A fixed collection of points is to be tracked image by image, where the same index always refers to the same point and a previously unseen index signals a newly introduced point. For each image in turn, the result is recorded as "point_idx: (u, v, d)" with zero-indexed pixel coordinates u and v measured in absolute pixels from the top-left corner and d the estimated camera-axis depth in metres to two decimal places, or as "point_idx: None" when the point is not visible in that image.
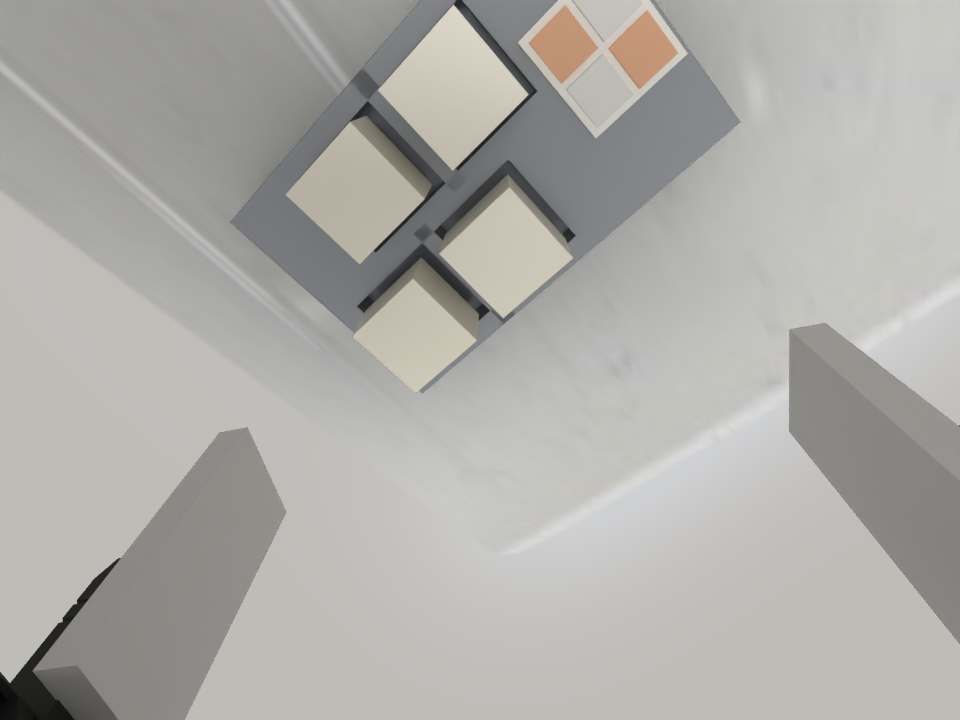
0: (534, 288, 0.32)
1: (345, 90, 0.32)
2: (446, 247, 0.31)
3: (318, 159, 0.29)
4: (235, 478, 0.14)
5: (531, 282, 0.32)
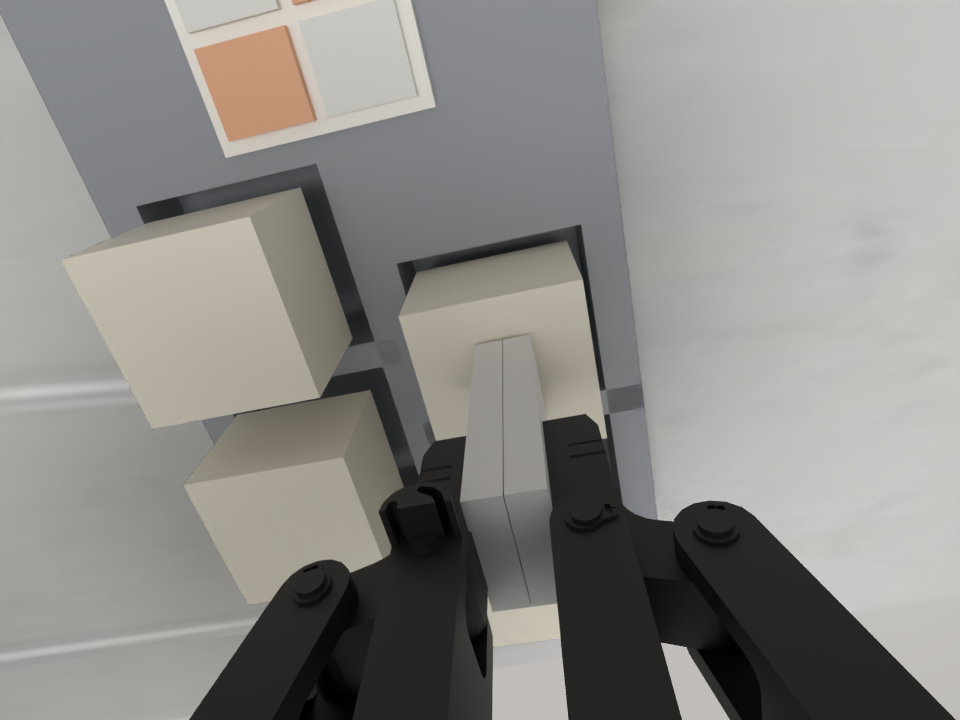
0: (591, 367, 0.16)
1: None
2: None
3: (218, 546, 0.18)
4: None
5: (578, 366, 0.16)
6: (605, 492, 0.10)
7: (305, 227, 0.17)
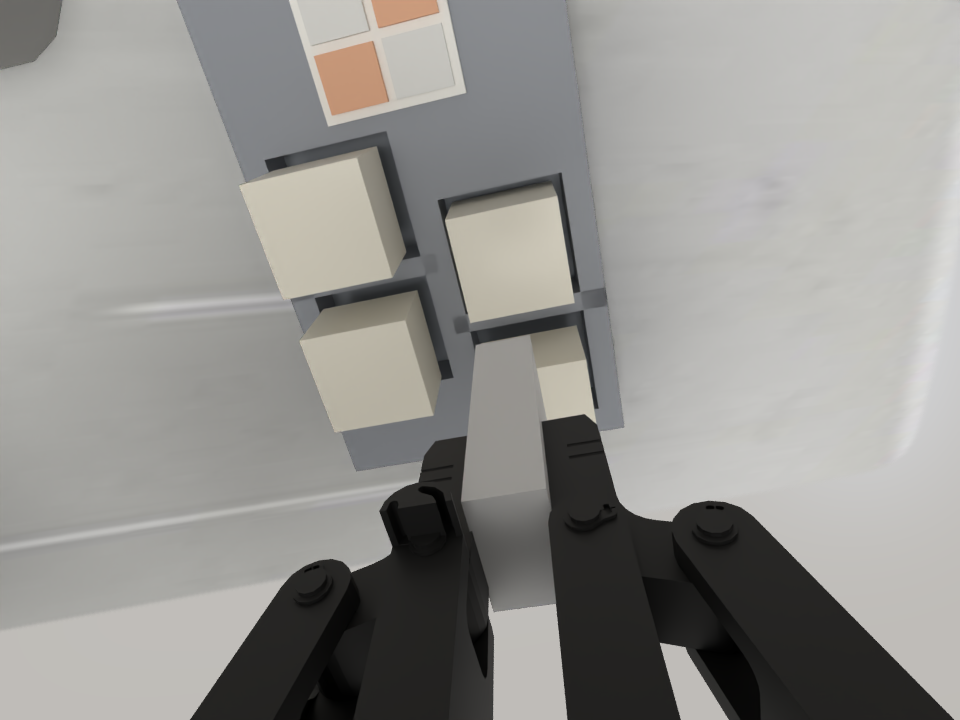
0: (563, 254, 0.26)
1: (296, 310, 0.31)
2: (468, 312, 0.28)
3: (318, 387, 0.28)
4: None
5: (555, 253, 0.26)
6: (605, 492, 0.10)
7: (380, 172, 0.26)
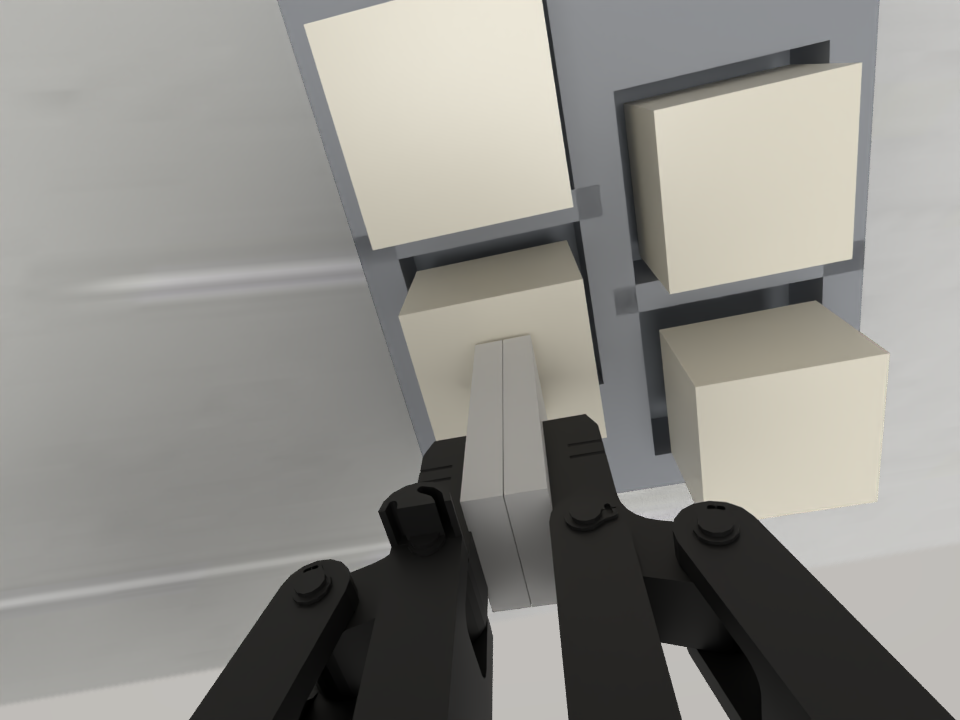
0: (851, 172, 0.15)
1: (369, 280, 0.20)
2: (669, 276, 0.17)
3: (423, 393, 0.17)
4: None
5: (837, 171, 0.15)
6: (605, 493, 0.10)
7: None
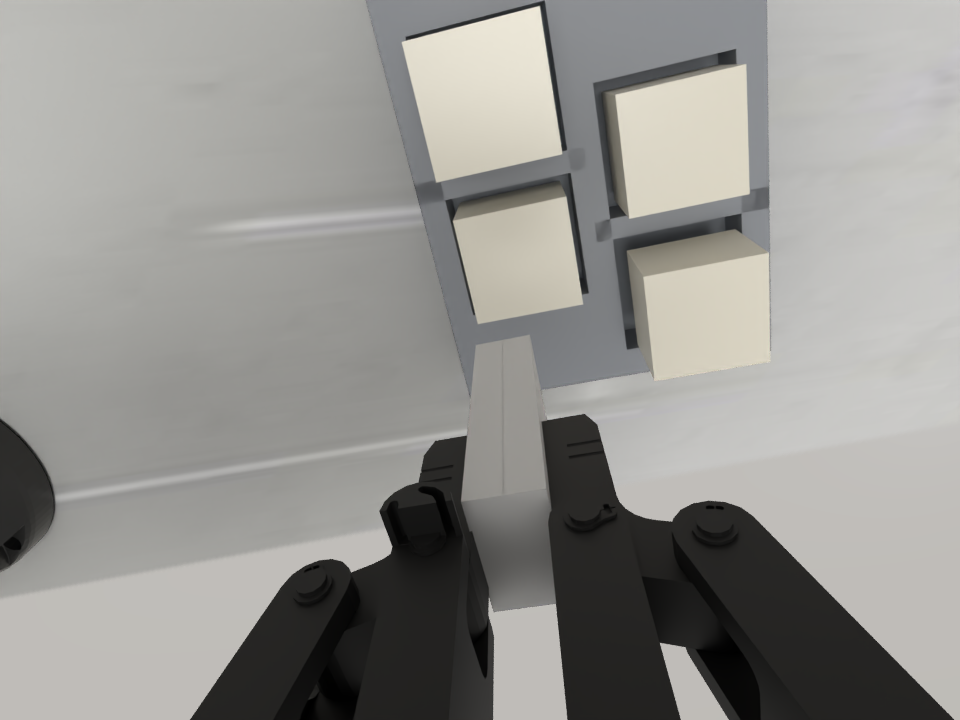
0: (744, 135, 0.24)
1: (424, 215, 0.28)
2: (628, 206, 0.25)
3: (466, 273, 0.27)
4: None
5: (735, 134, 0.24)
6: (604, 493, 0.10)
7: None
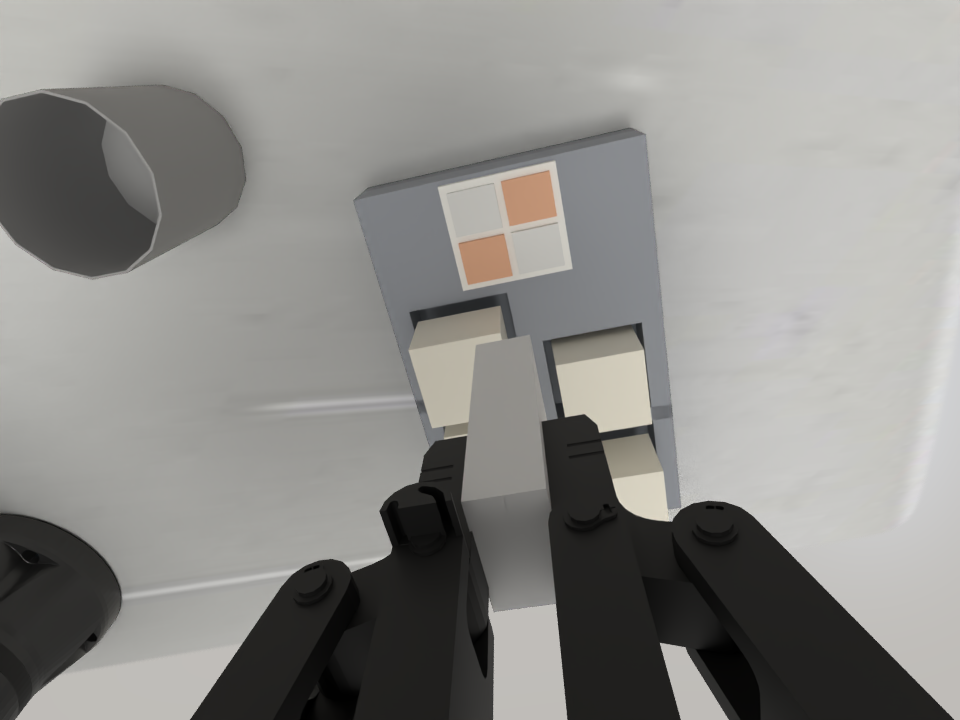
0: (646, 389, 0.34)
1: (422, 420, 0.39)
2: None
3: None
4: None
5: (639, 389, 0.34)
6: (604, 493, 0.10)
7: (504, 326, 0.34)
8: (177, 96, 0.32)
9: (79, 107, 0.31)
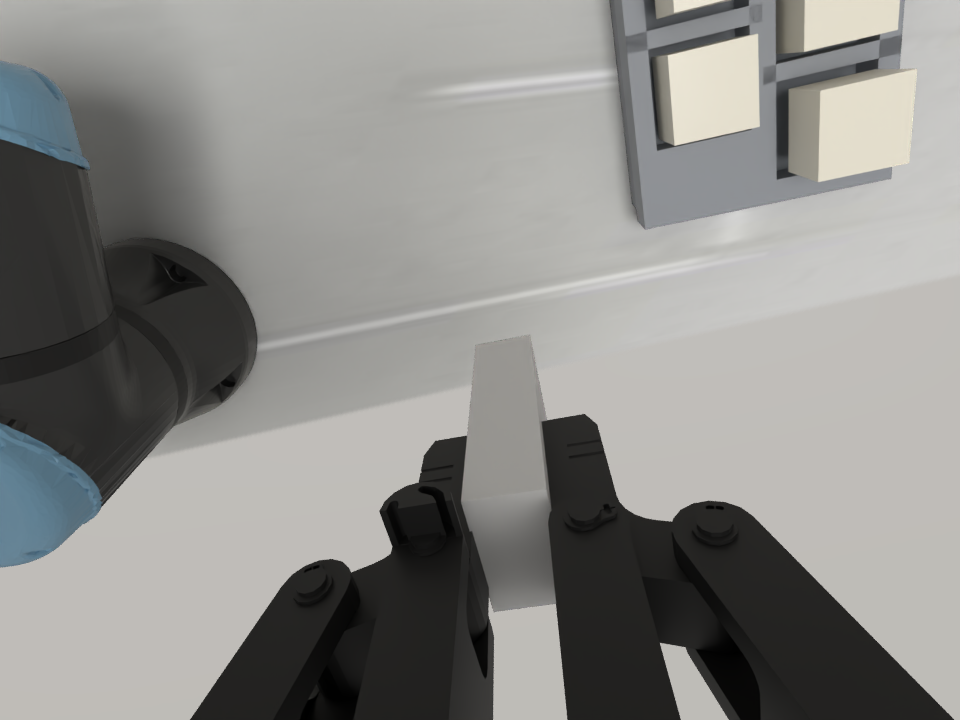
0: None
1: (629, 63, 0.36)
2: (804, 41, 0.33)
3: (672, 100, 0.35)
4: None
5: None
6: (604, 492, 0.10)
7: None
8: None
9: None
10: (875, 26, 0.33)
